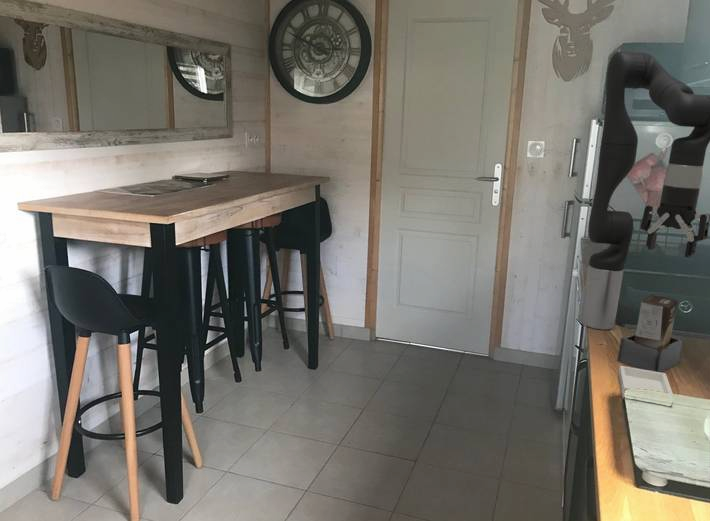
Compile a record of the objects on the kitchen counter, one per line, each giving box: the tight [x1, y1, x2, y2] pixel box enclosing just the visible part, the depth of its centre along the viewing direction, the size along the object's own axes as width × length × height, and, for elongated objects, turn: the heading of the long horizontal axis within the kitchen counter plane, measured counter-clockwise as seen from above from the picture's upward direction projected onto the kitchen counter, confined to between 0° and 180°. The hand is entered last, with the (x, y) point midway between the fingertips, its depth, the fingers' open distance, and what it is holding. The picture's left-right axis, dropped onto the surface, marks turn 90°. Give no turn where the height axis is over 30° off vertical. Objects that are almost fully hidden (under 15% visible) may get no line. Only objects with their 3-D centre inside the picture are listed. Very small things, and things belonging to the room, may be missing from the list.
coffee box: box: [634, 294, 679, 349], centre depth 148 cm, size 9×6×16 cm
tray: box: [618, 365, 674, 399], centre depth 134 cm, size 13×10×2 cm
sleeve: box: [616, 332, 685, 373], centre depth 149 cm, size 10×13×6 cm
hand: (668, 252), depth 143 cm, fingers open, 8 cm apart
